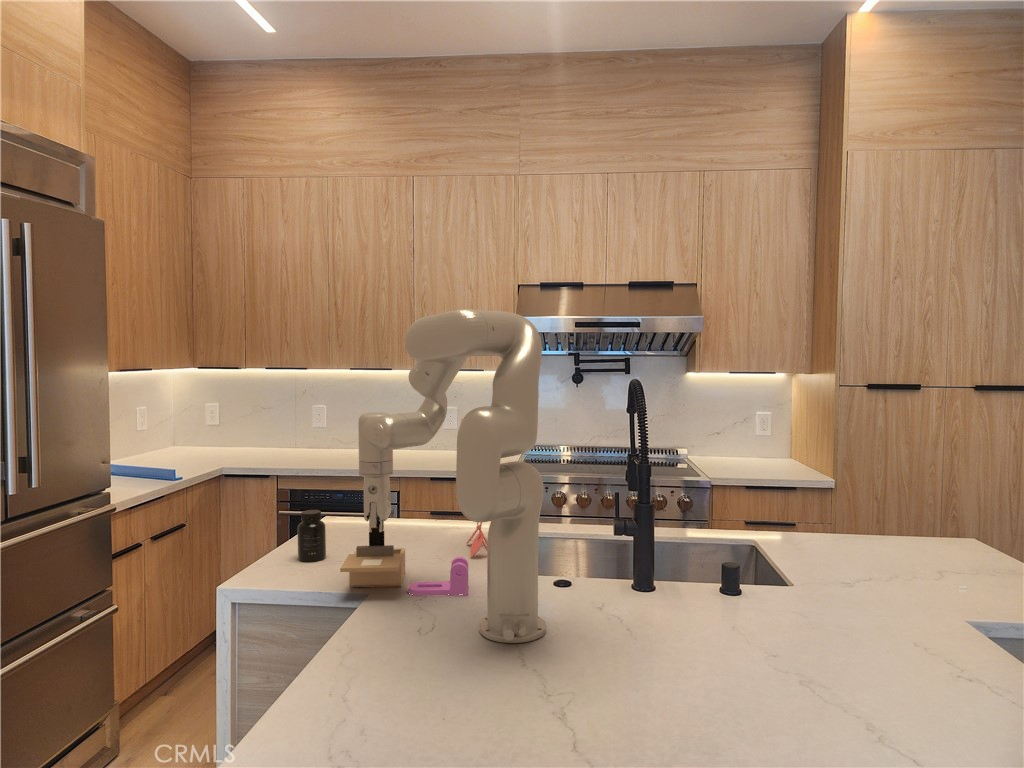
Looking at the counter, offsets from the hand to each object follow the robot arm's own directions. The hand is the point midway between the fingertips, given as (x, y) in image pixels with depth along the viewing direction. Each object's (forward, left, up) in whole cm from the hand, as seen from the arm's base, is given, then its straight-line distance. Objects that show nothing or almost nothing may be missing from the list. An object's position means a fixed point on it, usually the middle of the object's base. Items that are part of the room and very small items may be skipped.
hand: (376, 548), depth 154 cm
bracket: (-6, -14, -8) cm, 17 cm away
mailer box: (+2, 0, -8) cm, 8 cm away
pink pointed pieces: (+24, -19, -8) cm, 32 cm away
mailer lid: (-6, 0, -2) cm, 6 cm away
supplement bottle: (+20, +19, -8) cm, 29 cm away
